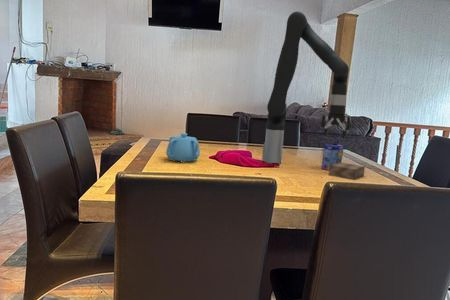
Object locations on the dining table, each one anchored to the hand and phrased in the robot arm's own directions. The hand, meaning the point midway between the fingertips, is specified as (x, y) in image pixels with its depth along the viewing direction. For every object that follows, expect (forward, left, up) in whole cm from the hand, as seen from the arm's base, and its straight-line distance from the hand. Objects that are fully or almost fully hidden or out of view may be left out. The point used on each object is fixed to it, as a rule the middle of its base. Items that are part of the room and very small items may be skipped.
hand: (334, 137), depth 192 cm
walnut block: (+11, -10, -16) cm, 22 cm away
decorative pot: (-59, -45, -16) cm, 76 cm away
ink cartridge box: (0, 0, -16) cm, 16 cm away
